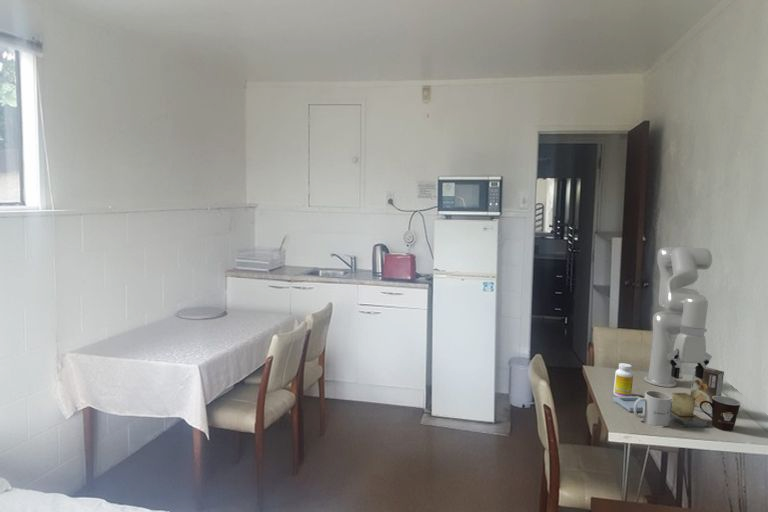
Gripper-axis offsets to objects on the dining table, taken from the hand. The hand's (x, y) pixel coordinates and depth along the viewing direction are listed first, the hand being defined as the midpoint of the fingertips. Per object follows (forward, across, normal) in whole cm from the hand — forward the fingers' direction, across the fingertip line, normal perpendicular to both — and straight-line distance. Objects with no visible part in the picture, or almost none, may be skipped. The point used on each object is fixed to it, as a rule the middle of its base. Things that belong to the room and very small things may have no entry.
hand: (686, 377), depth 197 cm
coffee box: (+16, -16, -9) cm, 24 cm away
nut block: (+16, 0, -1) cm, 16 cm away
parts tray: (+16, +11, -13) cm, 23 cm away
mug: (+16, +13, +1) cm, 21 cm away
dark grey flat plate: (+16, 0, -5) cm, 16 cm away
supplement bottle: (+16, +9, -24) cm, 30 cm away
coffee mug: (+16, -10, +6) cm, 20 cm away
